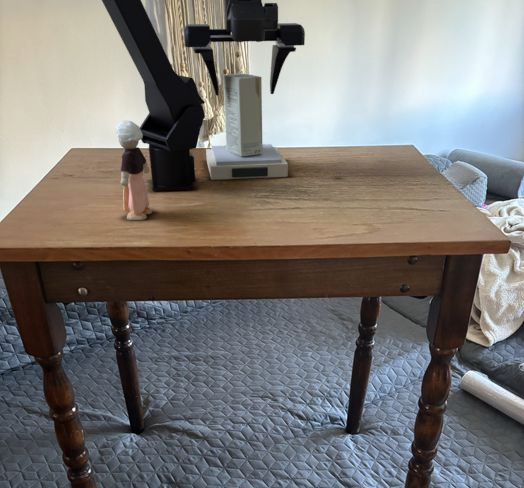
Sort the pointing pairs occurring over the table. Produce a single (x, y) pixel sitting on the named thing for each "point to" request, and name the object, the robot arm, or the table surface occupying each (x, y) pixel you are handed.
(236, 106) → the cosmetic box
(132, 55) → the robot arm
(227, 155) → the scale
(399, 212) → the table surface
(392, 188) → the table surface
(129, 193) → the grandmother figurine
